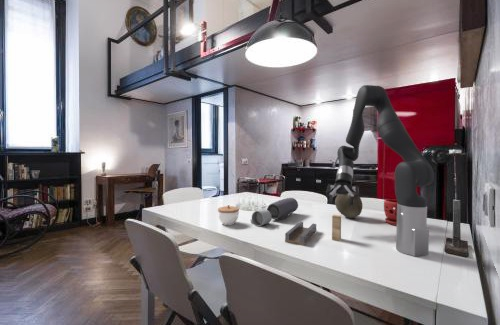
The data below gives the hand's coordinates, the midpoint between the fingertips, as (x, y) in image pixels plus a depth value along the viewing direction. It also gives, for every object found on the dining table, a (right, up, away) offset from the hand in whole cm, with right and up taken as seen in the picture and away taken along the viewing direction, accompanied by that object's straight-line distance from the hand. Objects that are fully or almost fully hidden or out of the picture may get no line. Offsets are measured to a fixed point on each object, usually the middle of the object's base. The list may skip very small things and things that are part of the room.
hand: (340, 204), depth 111 cm
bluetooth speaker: (-22, -12, +29) cm, 38 cm away
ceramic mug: (-36, -13, +14) cm, 41 cm away
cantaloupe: (+15, -13, +28) cm, 34 cm away
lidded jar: (-52, -13, +15) cm, 56 cm away
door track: (-18, -13, -4) cm, 23 cm away
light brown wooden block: (-4, -14, -8) cm, 16 cm away
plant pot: (+36, -13, +16) cm, 41 cm away
